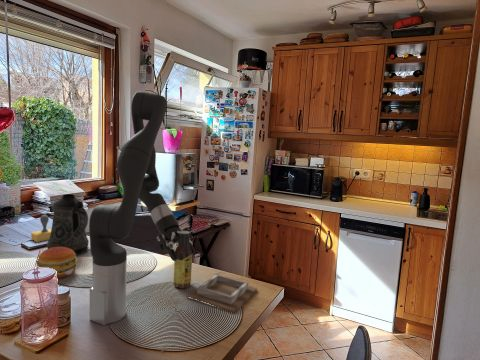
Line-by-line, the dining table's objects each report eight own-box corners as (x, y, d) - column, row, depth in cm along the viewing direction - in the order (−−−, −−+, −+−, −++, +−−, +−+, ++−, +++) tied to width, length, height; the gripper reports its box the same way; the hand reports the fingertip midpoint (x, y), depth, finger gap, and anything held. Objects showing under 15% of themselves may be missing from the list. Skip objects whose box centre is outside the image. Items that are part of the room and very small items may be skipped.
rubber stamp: (37, 242, 156) (36, 217, 154) (31, 239, 159) (30, 215, 157) (58, 237, 164) (58, 214, 162) (52, 235, 167) (51, 212, 165)
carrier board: (234, 313, 104) (234, 302, 104) (186, 298, 112) (187, 288, 112) (256, 290, 120) (257, 281, 120) (214, 278, 128) (214, 270, 128)
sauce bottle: (187, 290, 118) (189, 236, 115) (170, 287, 119) (172, 233, 116) (193, 282, 124) (195, 230, 121) (177, 280, 125) (179, 229, 123)
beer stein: (60, 242, 157) (60, 190, 154) (101, 245, 157) (101, 193, 153) (38, 255, 141) (37, 197, 137) (83, 258, 140) (83, 200, 137)
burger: (85, 271, 128) (85, 246, 127) (53, 285, 116) (53, 257, 114) (59, 264, 133) (59, 240, 132) (26, 276, 121) (26, 250, 119)
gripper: (154, 216, 117) (175, 256, 112) (183, 210, 128) (204, 246, 123) (144, 228, 121) (164, 267, 116) (173, 221, 132) (193, 256, 127)
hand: (185, 256), depth 119 cm, fingers open, 8 cm apart
